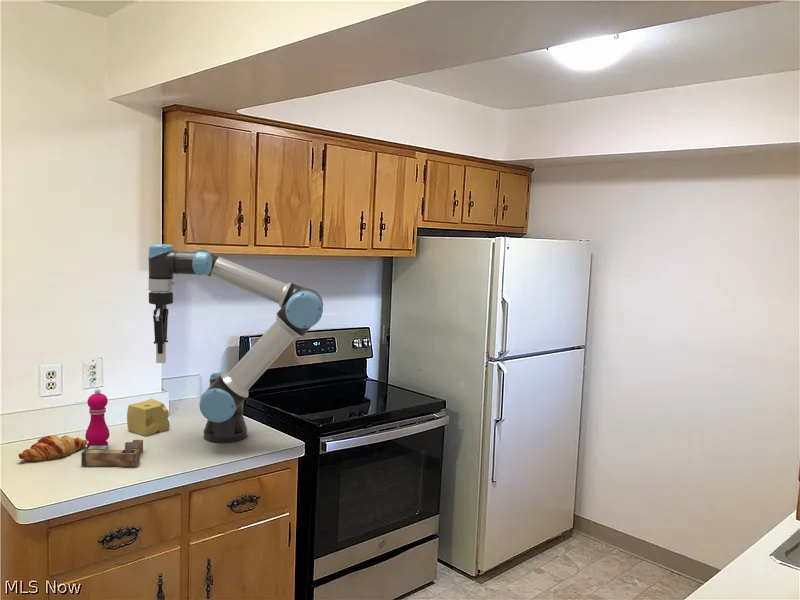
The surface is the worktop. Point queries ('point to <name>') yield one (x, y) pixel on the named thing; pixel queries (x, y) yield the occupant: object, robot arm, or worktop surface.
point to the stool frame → (128, 446)
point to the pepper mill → (97, 420)
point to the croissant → (52, 448)
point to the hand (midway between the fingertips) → (161, 362)
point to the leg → (110, 458)
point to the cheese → (147, 417)
